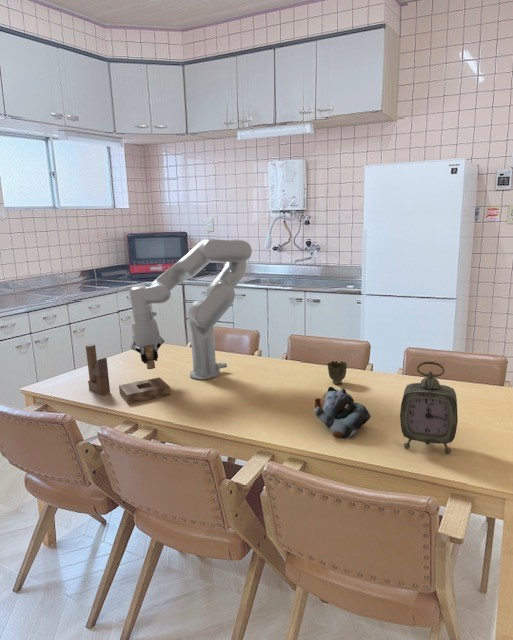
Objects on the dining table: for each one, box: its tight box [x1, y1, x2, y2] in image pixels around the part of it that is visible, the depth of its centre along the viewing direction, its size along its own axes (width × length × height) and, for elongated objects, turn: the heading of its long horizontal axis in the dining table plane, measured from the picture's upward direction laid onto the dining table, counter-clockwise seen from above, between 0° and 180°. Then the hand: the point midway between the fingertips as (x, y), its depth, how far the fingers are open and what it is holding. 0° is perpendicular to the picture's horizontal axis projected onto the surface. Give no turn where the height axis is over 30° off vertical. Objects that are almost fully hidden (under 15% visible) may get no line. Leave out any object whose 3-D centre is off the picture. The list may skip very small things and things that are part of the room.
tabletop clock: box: [399, 361, 459, 455], centre depth 134 cm, size 14×9×25 cm, turn 69°
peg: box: [144, 345, 156, 370], centre depth 196 cm, size 4×4×10 cm
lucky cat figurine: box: [314, 386, 372, 439], centre depth 149 cm, size 15×12×14 cm
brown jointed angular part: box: [85, 343, 111, 396], centre depth 189 cm, size 4×11×18 cm, turn 45°
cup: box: [327, 360, 348, 385], centre depth 188 cm, size 8×7×8 cm
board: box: [118, 376, 171, 405], centre depth 185 cm, size 16×12×4 cm
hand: (150, 361), depth 196 cm, fingers closed on peg, 3 cm apart
